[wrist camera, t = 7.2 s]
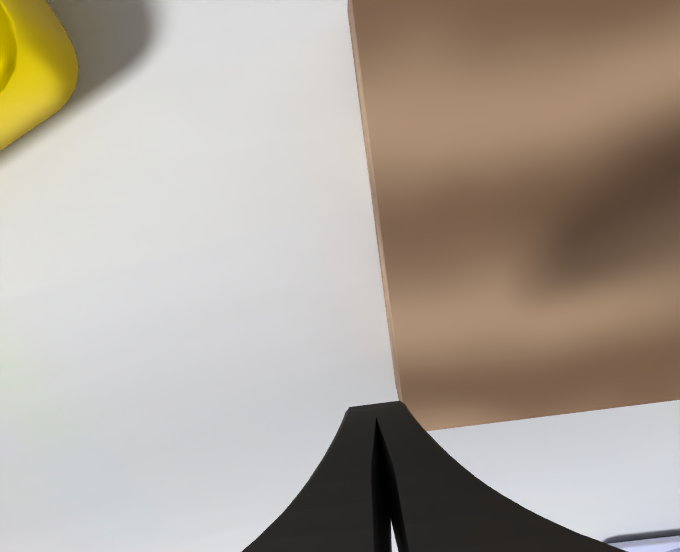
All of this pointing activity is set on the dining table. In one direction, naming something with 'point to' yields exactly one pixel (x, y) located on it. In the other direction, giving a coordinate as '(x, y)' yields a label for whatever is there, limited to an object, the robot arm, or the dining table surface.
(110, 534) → the dining table surface
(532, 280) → the plate
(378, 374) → the dining table surface
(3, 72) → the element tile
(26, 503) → the dining table surface
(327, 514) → the robot arm
